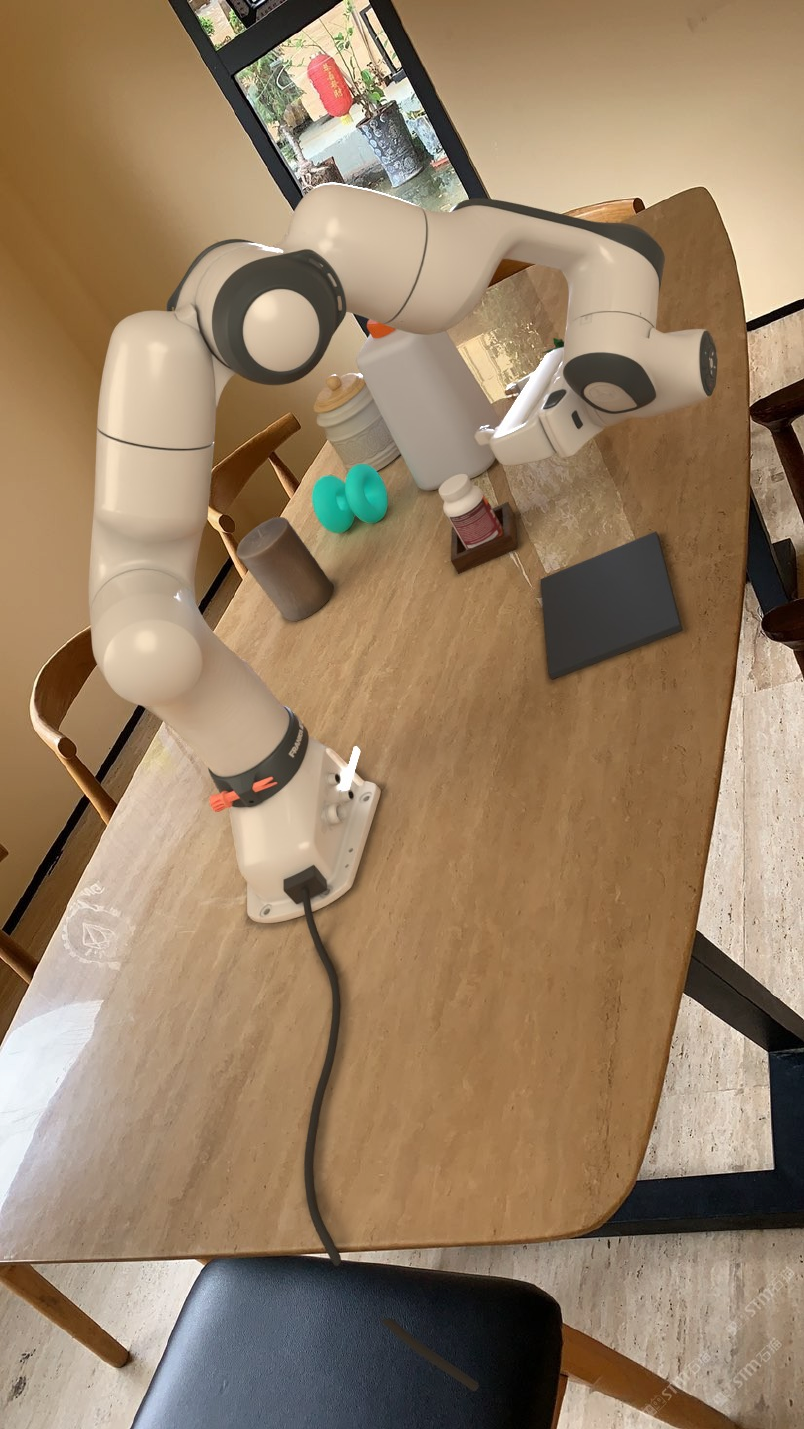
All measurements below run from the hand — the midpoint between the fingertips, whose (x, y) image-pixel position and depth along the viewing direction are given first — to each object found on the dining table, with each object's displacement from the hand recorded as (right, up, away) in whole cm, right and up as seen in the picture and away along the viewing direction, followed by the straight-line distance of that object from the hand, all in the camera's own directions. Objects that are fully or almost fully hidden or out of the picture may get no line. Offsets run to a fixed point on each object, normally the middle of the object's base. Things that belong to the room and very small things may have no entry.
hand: (493, 414), depth 134 cm
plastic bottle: (-1, +4, +43) cm, 43 cm away
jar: (-16, +10, +62) cm, 65 cm away
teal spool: (-18, -6, +45) cm, 49 cm away
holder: (+1, -14, +19) cm, 23 cm away
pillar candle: (-27, -20, +35) cm, 49 cm away
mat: (+13, -25, -6) cm, 29 cm away
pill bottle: (+1, -14, +19) cm, 24 cm away
